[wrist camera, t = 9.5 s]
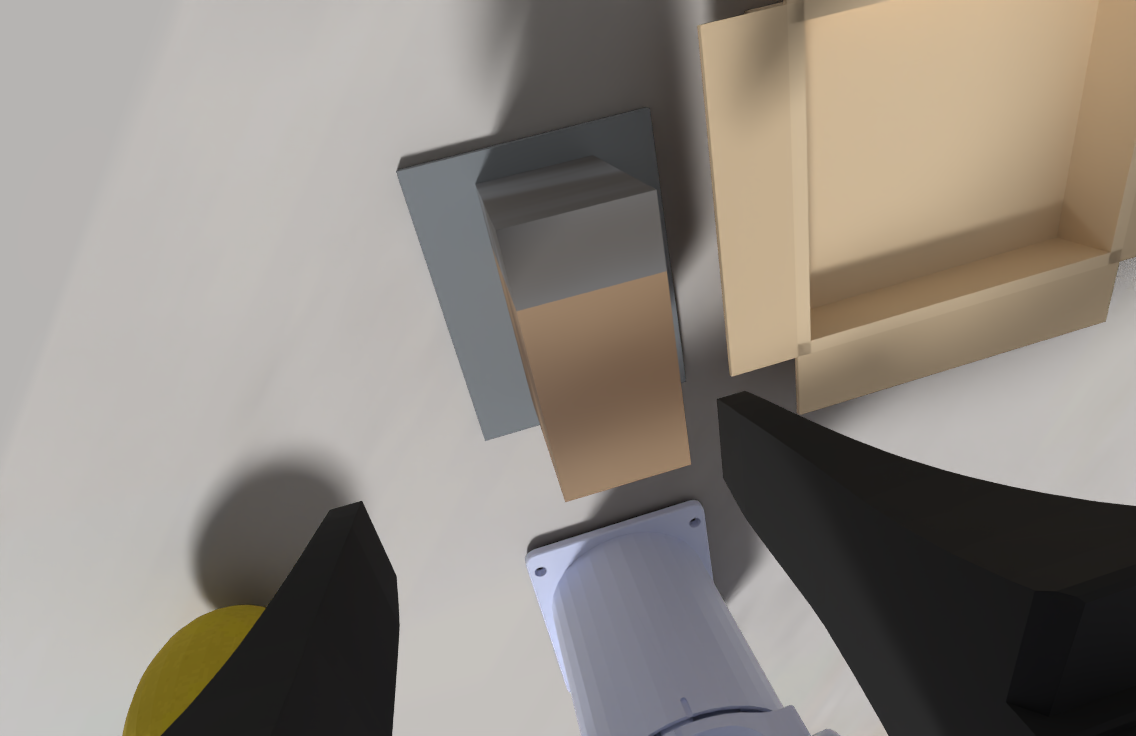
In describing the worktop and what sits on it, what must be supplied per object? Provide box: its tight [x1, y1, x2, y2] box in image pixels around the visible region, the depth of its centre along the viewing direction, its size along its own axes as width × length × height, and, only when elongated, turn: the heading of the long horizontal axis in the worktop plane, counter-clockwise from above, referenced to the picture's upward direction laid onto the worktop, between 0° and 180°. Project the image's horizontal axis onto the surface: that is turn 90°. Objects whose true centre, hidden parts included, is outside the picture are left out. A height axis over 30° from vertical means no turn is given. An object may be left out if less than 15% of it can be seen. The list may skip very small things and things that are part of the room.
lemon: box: [123, 605, 266, 736], centre depth 21 cm, size 6×6×8 cm
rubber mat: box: [396, 107, 686, 441], centre depth 21 cm, size 10×8×1 cm
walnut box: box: [475, 155, 691, 502], centre depth 18 cm, size 8×4×6 cm, turn 11°
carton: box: [697, 0, 1136, 415], centre depth 21 cm, size 16×18×2 cm
